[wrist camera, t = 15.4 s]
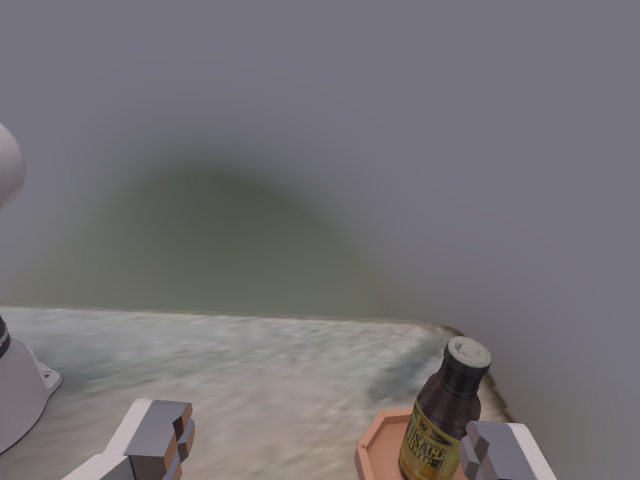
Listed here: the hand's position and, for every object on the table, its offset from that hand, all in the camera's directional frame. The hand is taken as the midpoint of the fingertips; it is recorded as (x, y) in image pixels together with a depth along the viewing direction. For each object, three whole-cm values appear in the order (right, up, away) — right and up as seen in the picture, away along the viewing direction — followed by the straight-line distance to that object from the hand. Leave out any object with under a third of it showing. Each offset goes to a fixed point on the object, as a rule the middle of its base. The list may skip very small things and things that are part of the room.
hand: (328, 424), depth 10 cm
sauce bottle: (+12, -23, +31) cm, 40 cm away
